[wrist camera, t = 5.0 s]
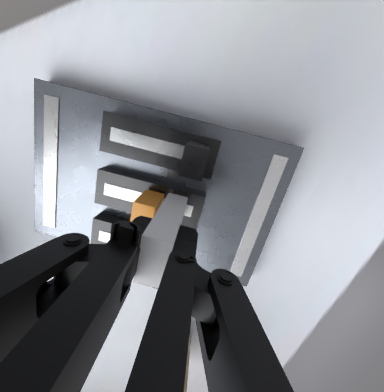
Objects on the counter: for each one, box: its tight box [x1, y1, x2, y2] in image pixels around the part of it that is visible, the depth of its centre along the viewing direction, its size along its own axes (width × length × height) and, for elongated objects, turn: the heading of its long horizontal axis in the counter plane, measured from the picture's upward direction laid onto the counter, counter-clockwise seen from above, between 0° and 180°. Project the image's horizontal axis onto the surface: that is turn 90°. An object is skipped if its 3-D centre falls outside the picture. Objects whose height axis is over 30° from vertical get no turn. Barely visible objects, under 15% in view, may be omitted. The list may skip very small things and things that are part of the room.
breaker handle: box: [130, 189, 164, 222], centre depth 15 cm, size 2×2×3 cm
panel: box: [34, 78, 304, 289], centre depth 17 cm, size 14×22×6 cm, turn 76°
